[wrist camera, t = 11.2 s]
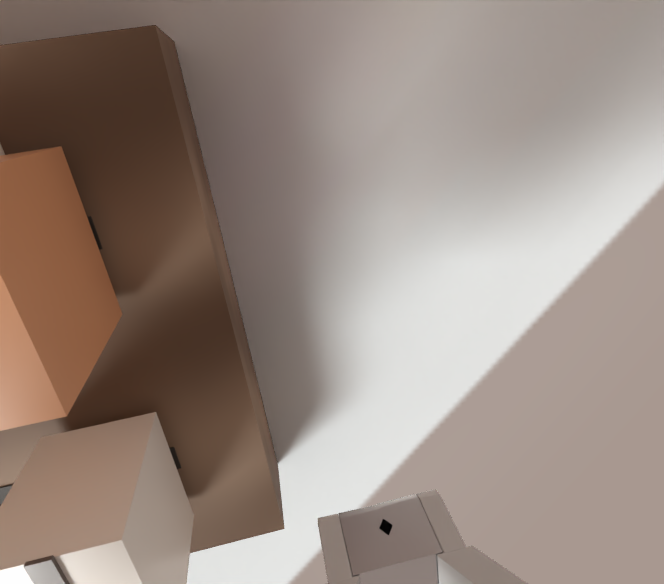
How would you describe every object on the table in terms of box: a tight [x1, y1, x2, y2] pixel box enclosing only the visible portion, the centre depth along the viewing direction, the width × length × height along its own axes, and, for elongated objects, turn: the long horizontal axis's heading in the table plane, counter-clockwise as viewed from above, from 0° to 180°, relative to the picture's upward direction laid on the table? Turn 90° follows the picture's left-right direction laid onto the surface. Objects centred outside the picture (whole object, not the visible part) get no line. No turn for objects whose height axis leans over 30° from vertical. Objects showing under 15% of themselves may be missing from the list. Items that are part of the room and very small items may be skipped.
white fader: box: [0, 412, 194, 584], centre depth 11 cm, size 4×3×4 cm
